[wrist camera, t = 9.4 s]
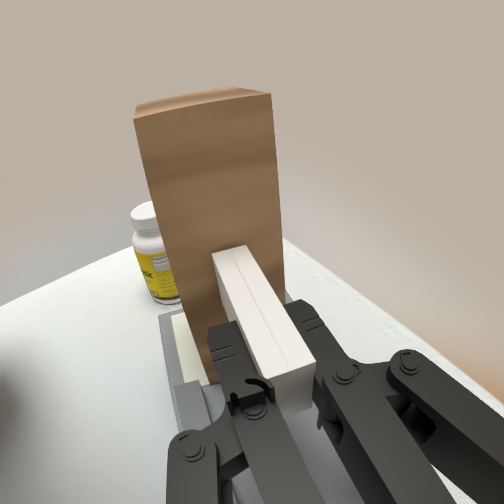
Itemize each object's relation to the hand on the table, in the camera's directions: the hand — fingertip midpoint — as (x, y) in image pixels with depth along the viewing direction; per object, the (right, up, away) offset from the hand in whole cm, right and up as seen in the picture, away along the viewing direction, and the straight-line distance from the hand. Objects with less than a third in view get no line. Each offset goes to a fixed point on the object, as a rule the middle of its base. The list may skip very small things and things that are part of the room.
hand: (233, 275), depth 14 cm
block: (0, -5, +7) cm, 8 cm away
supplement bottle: (-8, -3, +20) cm, 22 cm away
